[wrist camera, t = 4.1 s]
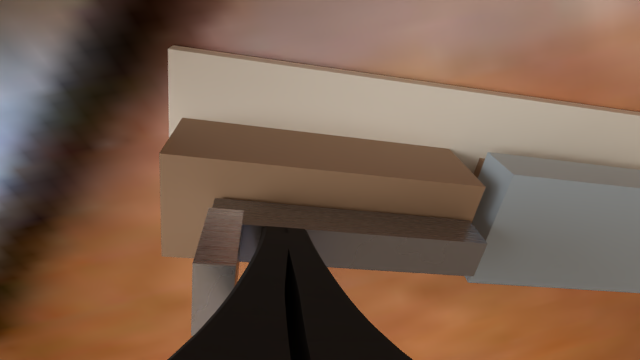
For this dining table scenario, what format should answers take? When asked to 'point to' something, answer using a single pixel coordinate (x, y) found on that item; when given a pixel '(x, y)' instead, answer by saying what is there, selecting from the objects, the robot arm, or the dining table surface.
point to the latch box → (353, 140)
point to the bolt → (327, 244)
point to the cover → (558, 224)
